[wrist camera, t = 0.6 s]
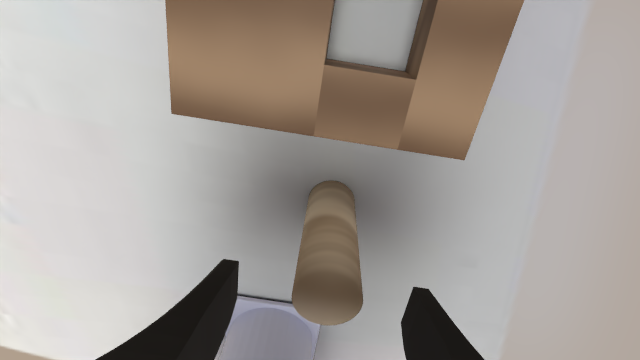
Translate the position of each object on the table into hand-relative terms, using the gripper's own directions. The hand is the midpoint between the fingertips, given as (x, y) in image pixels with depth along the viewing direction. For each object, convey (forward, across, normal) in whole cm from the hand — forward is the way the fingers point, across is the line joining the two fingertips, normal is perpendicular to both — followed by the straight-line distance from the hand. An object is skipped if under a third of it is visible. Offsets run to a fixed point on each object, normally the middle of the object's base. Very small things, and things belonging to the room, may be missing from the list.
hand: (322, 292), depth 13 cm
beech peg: (+10, 0, +1) cm, 10 cm away
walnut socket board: (+10, +1, -10) cm, 14 cm away
